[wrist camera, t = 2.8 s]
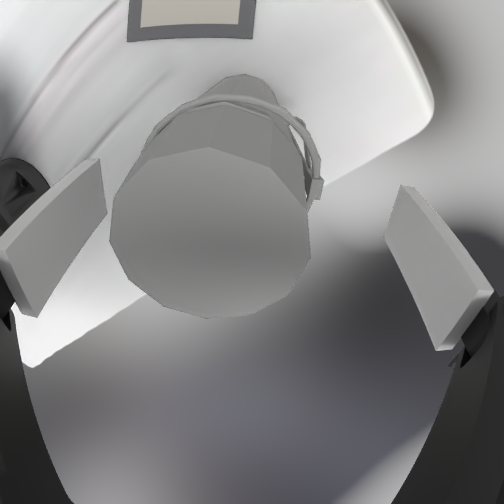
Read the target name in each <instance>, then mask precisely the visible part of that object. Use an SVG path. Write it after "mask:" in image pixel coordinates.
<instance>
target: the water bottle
mask: <svg viewBox="0 0 504 504" xmlns="http://www.w3.org/2000/svg"><path fill="white" fill-rule="evenodd" d="M288 125H291V126H292V127H293V128H294V129H295V130H296V131H297V133H298V134H299V135H300V136H301V138H302V139H303V141H304V150H305V159H306V161H305V159H304V157H303V155H302V153H301V151H300V149H299V146H298V144H297V142H296V140H295V138H294V136H293V134H292V132H291V130H290V128H289V126H288ZM310 157H311V160H312V169H311V161H310ZM320 162H321V159H320V156H319V154H318V152H317V149H316V147H315V145H314V142H313V140H312V138H311V135H310V133H309V132H308V131H307V130H306V125H305V123H304V122H303V121H302V120H301V119H299V118H298V117H293V116H292V115H291V114H290V113H289V112H288V111H287V110H286V109H285V108H283V107H280V106H279V105H278V103H277V100H276V98H275V95H274V93H273V92H272V91H271V90H270V89H269V87H268V86H267V85H266V84H265V83H264V82H263V81H262V80H260V79H257V78H254V77H252V76H249V75H246V74H243V75H237V76H231V77H226V78H225V79H223V80H222V81H221V82H219V83H218V84H216V85H215V86H214V87H212V88H211V89H209V90H208V91H207V92H205V93H204V94H203V95H201V96H200V97H199V98H197V99H196V100H194V101H191V102H188V103H185V104H183V105H181V106H180V107H178V108H177V109H176V110H175V111H173V112H172V113H170V114H169V115H167V116H166V117H165V118H164V119H163V120H162V121H161V122H159V123H158V124H157V125H156V126H155V127H154V129H153V131H152V133H151V135H150V136H149V138H148V139H147V141H146V143H145V146H144V148H143V150H142V152H141V155H140V157H139V158H138V160H137V161H136V163H135V164H134V166H133V168H132V169H131V171H130V172H129V174H128V175H127V177H126V178H125V180H124V182H123V183H122V185H121V187H120V188H119V190H118V191H117V193H116V195H115V196H114V201H113V209H112V219H111V229H110V240H109V241H110V243H111V246H112V248H113V250H114V252H115V254H116V256H117V258H118V260H119V262H120V264H121V266H122V268H123V270H124V272H125V274H126V275H127V277H128V279H129V280H130V281H131V282H132V283H134V284H135V285H136V286H137V287H139V288H140V289H141V290H143V291H144V292H145V293H146V294H148V295H149V296H150V297H152V298H153V299H154V300H156V301H157V302H158V303H160V304H161V305H162V306H164V307H167V308H170V309H174V310H177V311H181V312H184V313H188V314H191V315H195V316H199V317H202V318H206V319H209V318H220V317H221V318H222V317H233V316H244V315H251V314H253V313H255V312H257V311H259V310H261V309H262V308H264V307H266V306H268V305H270V304H272V303H274V302H276V301H277V300H279V299H281V298H283V297H285V296H286V295H288V294H289V293H290V291H291V289H292V288H293V286H294V285H295V283H296V281H297V280H298V278H299V277H300V275H301V273H302V272H303V270H304V268H305V267H306V265H307V263H308V262H309V260H310V259H311V256H310V242H309V229H308V215H307V213H308V211H309V209H310V206H311V204H312V202H313V200H314V199H316V200H320V197H321V193H322V188H323V184H324V180H323V179H322V178H321V176H320ZM305 191H306V193H305ZM306 194H307V198H306Z"/></svg>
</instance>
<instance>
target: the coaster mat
mask: <svg viewBox="0 0 504 504" xmlns="http://www.w3.org/2000/svg"><path fill="white" fill-rule="evenodd" d="M255 5H256V0H130V2H129V14H128V30H127V42H133V41H142V40H153V39H167V38H191V37H220V38H244V39H252V36H253V25H254V15H255Z"/></svg>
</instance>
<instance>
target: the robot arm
mask: <svg viewBox="0 0 504 504" xmlns="http://www.w3.org/2000/svg"><path fill="white" fill-rule="evenodd" d="M106 215H107V208H106V202H105V196H104V190H103V183H102V176H101V168H100V160H99V159H87V160H84V161H83V162H81V163H80V164H79V165H78V166H76V167H75V168H74V169H73V170H71V171H70V172H69V173H68V174H67V175H65V176H64V177H63V178H62V179H61V180H59V181H58V182H57V183H56V184H55V185H54V186H52V187H51V188H49V186H48V184H47V183H46V181H45V180H44V178H43V177H42V176H41V174H40V173H39V172H38V171H37V170H36V169H35V168H34V167H32V166H31V165H30V164H28V163H26V162H24V161H22V160H19V159H6V160H4V161H2V162H0V504H74V503H73V502H72V501H71V500H70V499H69V498H68V495H67V494H66V492H65V490H64V488H63V486H62V484H61V481H60V479H59V477H58V475H57V473H56V470H55V468H54V466H53V463H52V461H51V459H50V456H49V453H48V451H47V449H46V445H45V443H44V440H43V438H42V434H41V431H40V428H39V425H38V422H37V419H36V416H35V413H34V410H33V406H32V403H31V399H30V395H29V391H28V388H27V384H26V379H25V375H24V371H23V366H22V361H21V356H20V350H19V344H18V338H17V332H16V324H15V316H14V314H13V312H12V310H11V307H12V305H13V304H14V302H16V304H17V306H18V308H19V310H20V311H21V313H22V314H24V315H28V316H32V317H36V318H37V317H38V316H39V314H40V312H41V310H42V309H43V307H44V305H45V304H46V302H47V300H48V299H49V297H50V295H51V294H52V292H53V291H54V289H55V287H56V286H57V284H58V283H59V281H60V279H61V278H62V276H63V275H64V273H65V272H66V270H67V269H68V267H69V266H70V264H71V263H72V261H73V260H74V258H75V257H76V255H77V254H78V253H79V251H80V250H81V248H82V247H83V246H84V244H85V243H86V241H87V240H88V239H89V237H90V236H91V234H92V233H93V232H94V230H95V229H96V228H97V226H98V225H99V224H100V222H101V221H102V220H103V218H104V217H105V216H106ZM384 239H385V241H386V243H387V245H388V246H389V249H390V250H391V252H392V254H393V256H394V258H395V260H396V262H397V264H398V266H399V268H400V270H401V272H402V274H403V276H404V278H405V281H406V283H407V285H408V286H409V289H410V291H411V293H412V295H413V297H414V300H415V302H416V304H417V306H418V309H419V311H420V313H421V316H422V318H423V320H424V323H425V325H426V328H427V330H428V332H429V335H430V337H431V340H432V342H433V345H434V347H435V350H436V351H439V350H450V349H452V348H453V347H454V346H455V345H456V343H457V342H458V341H459V340H460V338H462V340H463V342H464V346H463V347H462V349H461V350H460V351H459V352H458V354H457V355H456V356H455V357H454V358H453V359H452V361H451V362H450V363H449V365H448V366H449V367H451V366H452V365H453V363H456V364H455V368H454V371H453V374H452V377H451V380H450V383H449V386H448V388H447V391H446V394H445V397H444V399H443V402H442V404H441V407H440V409H439V412H438V414H437V417H436V419H435V422H434V424H433V426H432V428H431V431H430V433H429V435H428V438H427V439H426V442H425V444H424V446H423V448H422V450H421V452H420V454H419V456H418V458H417V460H416V462H415V464H414V465H413V467H412V469H411V471H410V473H409V475H408V476H407V478H406V480H405V482H404V483H403V485H402V487H401V489H400V490H399V492H398V494H397V495H396V497H395V498H394V500H393V502H392V503H391V504H504V296H502V297H499V295H498V294H497V292H496V290H495V289H494V287H493V286H492V284H491V283H490V281H489V280H488V278H487V277H486V275H485V274H483V271H482V269H481V268H480V267H479V266H478V264H477V262H476V261H475V259H474V258H473V257H472V255H471V254H469V253H468V252H467V250H466V249H465V248H464V246H463V245H462V244H461V243H460V241H459V240H458V239H457V238H456V236H455V235H454V233H453V232H452V231H451V230H450V229H449V227H448V226H447V225H446V224H445V222H444V221H443V220H442V219H441V217H440V216H439V215H438V214H437V213H436V211H435V210H434V209H433V208H432V207H431V206H430V204H429V203H428V202H427V201H426V200H425V199H424V198H423V197H422V195H421V194H420V193H419V192H418V191H417V190H416V189H415V188H413V187H409V186H404V185H400V188H399V191H398V195H397V198H396V201H395V204H394V207H393V210H392V213H391V216H390V219H389V222H388V225H387V228H386V230H385V233H384Z"/></svg>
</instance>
